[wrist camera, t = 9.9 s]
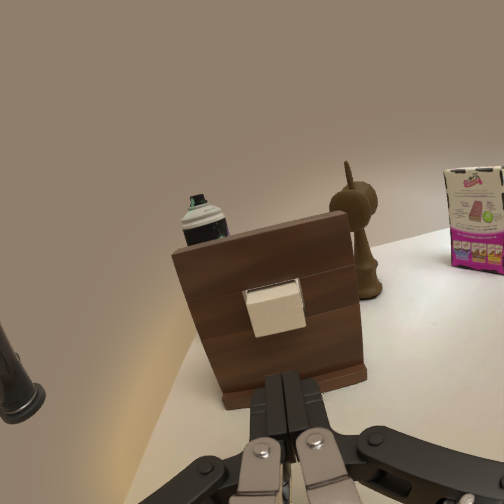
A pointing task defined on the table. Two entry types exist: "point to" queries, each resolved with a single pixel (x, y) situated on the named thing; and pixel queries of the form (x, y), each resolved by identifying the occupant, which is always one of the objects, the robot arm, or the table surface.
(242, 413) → the table surface
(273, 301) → the switch paddle
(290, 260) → the wall plate
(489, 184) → the candy bar box
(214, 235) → the spray can
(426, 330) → the table surface
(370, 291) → the kendama
